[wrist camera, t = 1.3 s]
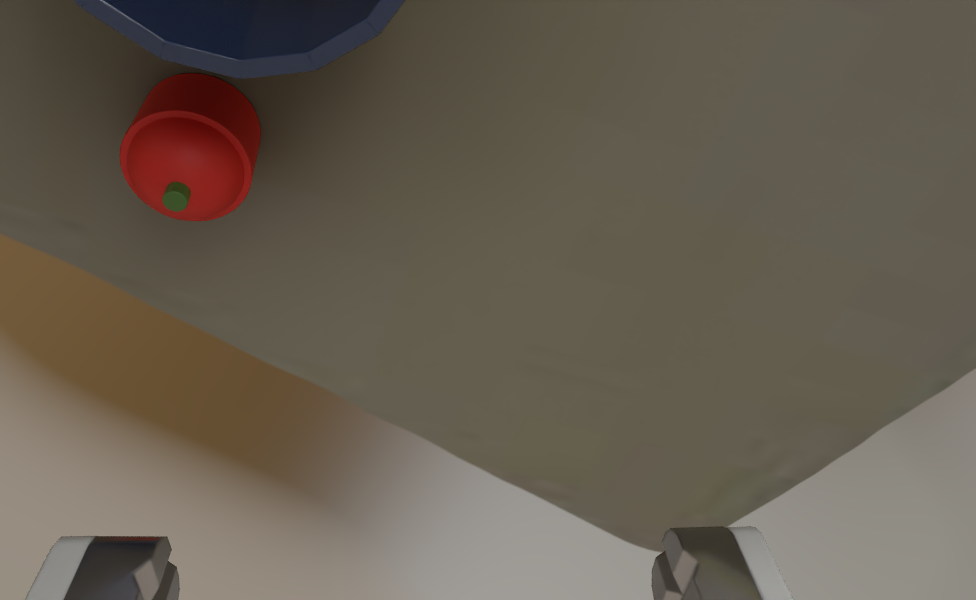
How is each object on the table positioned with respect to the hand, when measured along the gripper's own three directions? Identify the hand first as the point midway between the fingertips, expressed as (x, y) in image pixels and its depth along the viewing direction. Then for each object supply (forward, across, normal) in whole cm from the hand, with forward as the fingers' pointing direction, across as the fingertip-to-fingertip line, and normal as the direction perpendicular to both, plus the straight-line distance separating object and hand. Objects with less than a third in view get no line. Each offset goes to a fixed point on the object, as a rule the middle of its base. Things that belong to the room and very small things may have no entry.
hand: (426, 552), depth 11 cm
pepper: (+28, +11, +4) cm, 30 cm away
